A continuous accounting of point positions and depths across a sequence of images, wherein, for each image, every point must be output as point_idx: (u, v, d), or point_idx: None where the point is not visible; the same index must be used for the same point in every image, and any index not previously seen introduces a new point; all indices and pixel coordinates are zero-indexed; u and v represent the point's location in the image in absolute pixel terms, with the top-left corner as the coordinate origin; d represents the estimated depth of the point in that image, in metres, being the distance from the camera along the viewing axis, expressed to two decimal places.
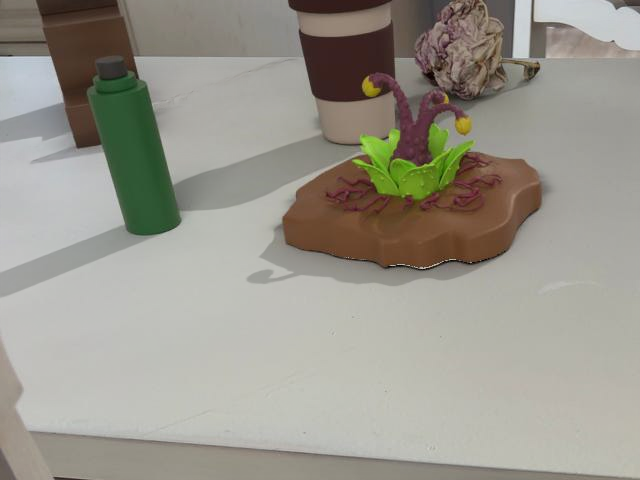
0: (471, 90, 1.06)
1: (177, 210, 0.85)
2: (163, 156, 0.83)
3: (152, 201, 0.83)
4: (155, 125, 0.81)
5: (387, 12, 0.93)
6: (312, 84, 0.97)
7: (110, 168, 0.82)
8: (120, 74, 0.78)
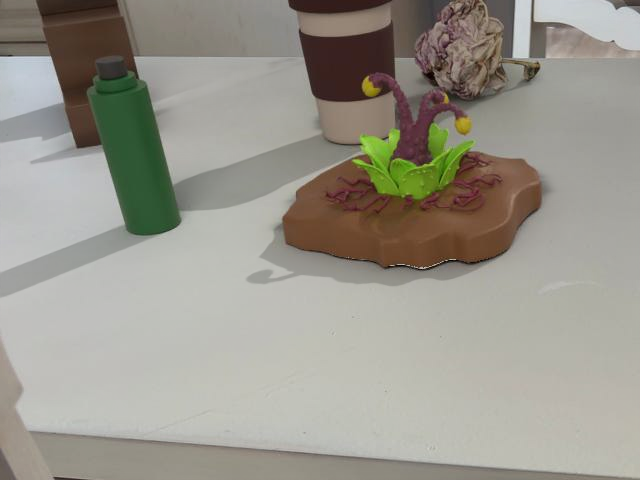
0: (471, 90, 1.06)
1: (177, 210, 0.85)
2: (163, 156, 0.83)
3: (152, 201, 0.83)
4: (155, 125, 0.81)
5: (387, 12, 0.93)
6: (312, 84, 0.97)
7: (110, 168, 0.82)
8: (120, 74, 0.78)
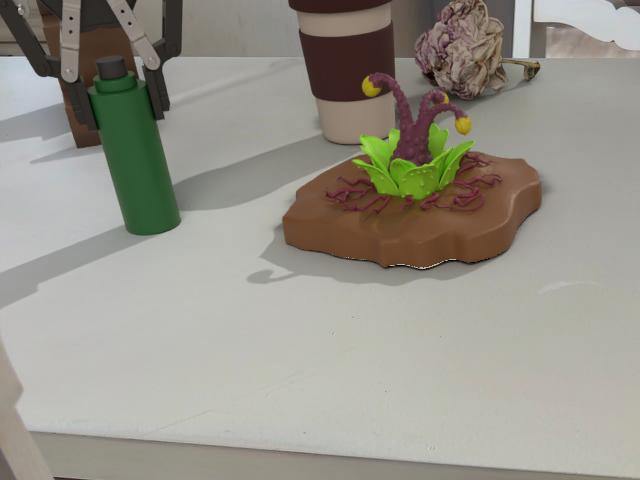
0: (471, 90, 1.06)
1: (177, 210, 0.85)
2: (163, 156, 0.83)
3: (152, 201, 0.83)
4: (155, 125, 0.81)
5: (387, 12, 0.93)
6: (312, 84, 0.97)
7: (110, 168, 0.82)
8: (120, 74, 0.78)
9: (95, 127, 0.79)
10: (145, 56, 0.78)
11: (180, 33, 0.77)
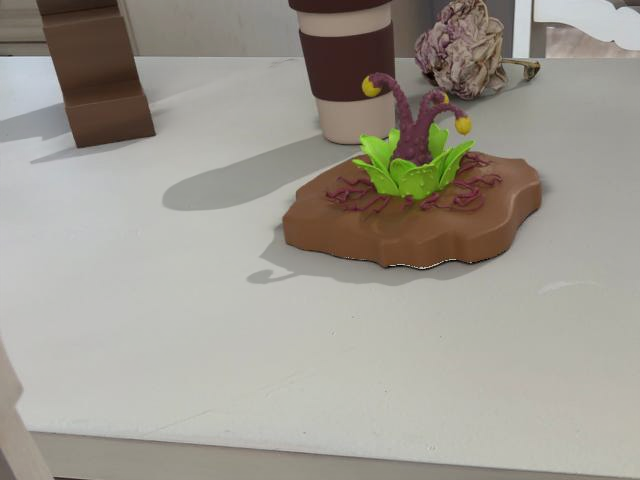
0: (471, 90, 1.06)
1: None
2: None
3: None
4: None
5: (387, 12, 0.93)
6: (312, 84, 0.97)
7: None
8: None
9: None
10: None
11: None
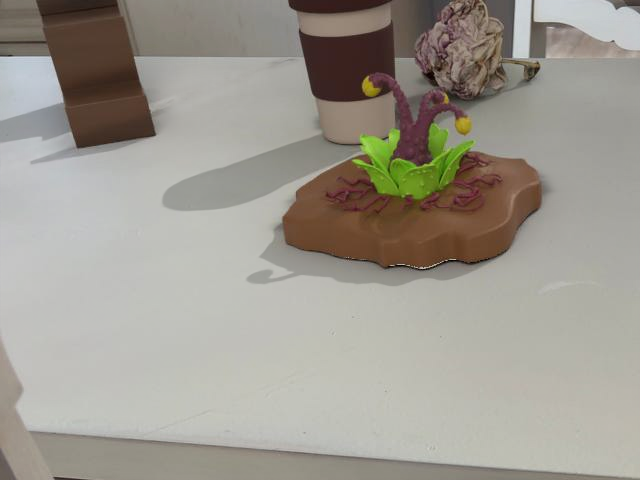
0: (471, 90, 1.06)
1: None
2: None
3: None
4: None
5: (387, 12, 0.93)
6: (312, 84, 0.97)
7: None
8: None
9: None
10: None
11: None
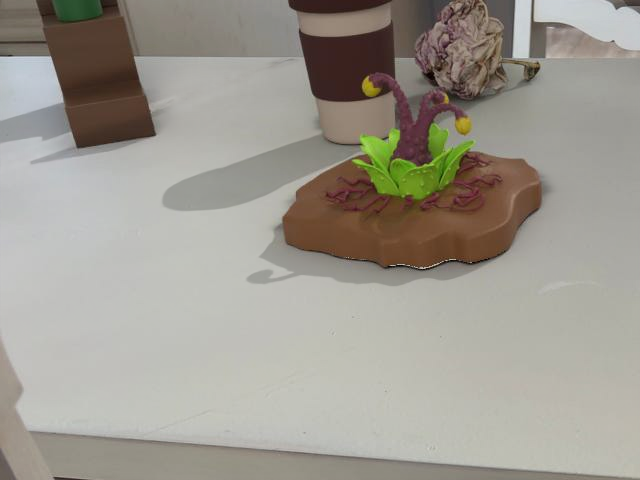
0: (471, 90, 1.06)
1: (99, 3, 1.04)
2: None
3: None
4: None
5: (387, 12, 0.93)
6: (312, 84, 0.97)
7: None
8: None
9: None
10: None
11: None
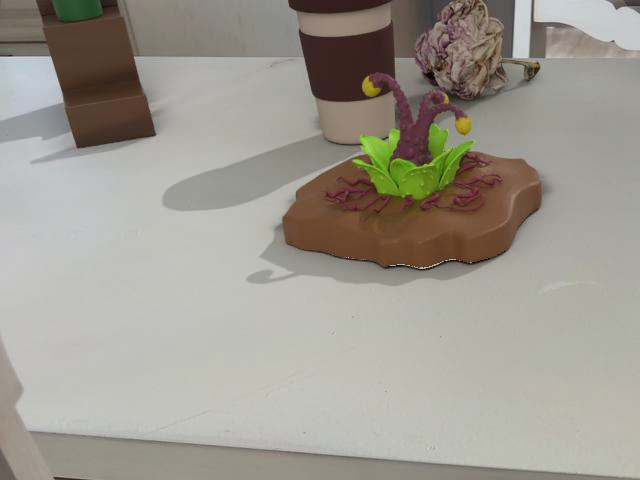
0: (471, 90, 1.06)
1: (99, 3, 1.04)
2: None
3: None
4: None
5: (387, 12, 0.93)
6: (312, 84, 0.97)
7: None
8: None
9: None
10: None
11: None
